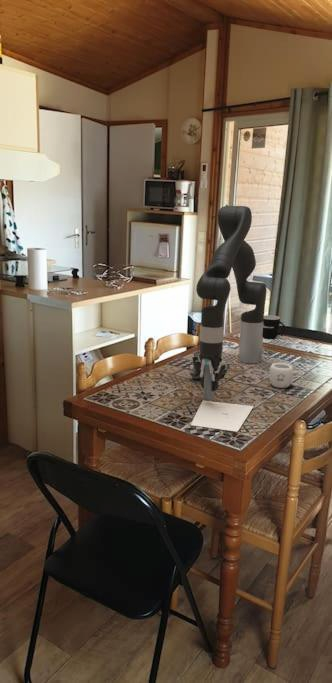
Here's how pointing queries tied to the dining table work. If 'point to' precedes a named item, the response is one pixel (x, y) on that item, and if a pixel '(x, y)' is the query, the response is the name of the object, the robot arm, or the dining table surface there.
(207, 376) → the marker
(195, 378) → the weathered grey finial
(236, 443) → the dining table surface
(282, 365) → the mug
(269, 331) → the mug
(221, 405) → the paper sheet
